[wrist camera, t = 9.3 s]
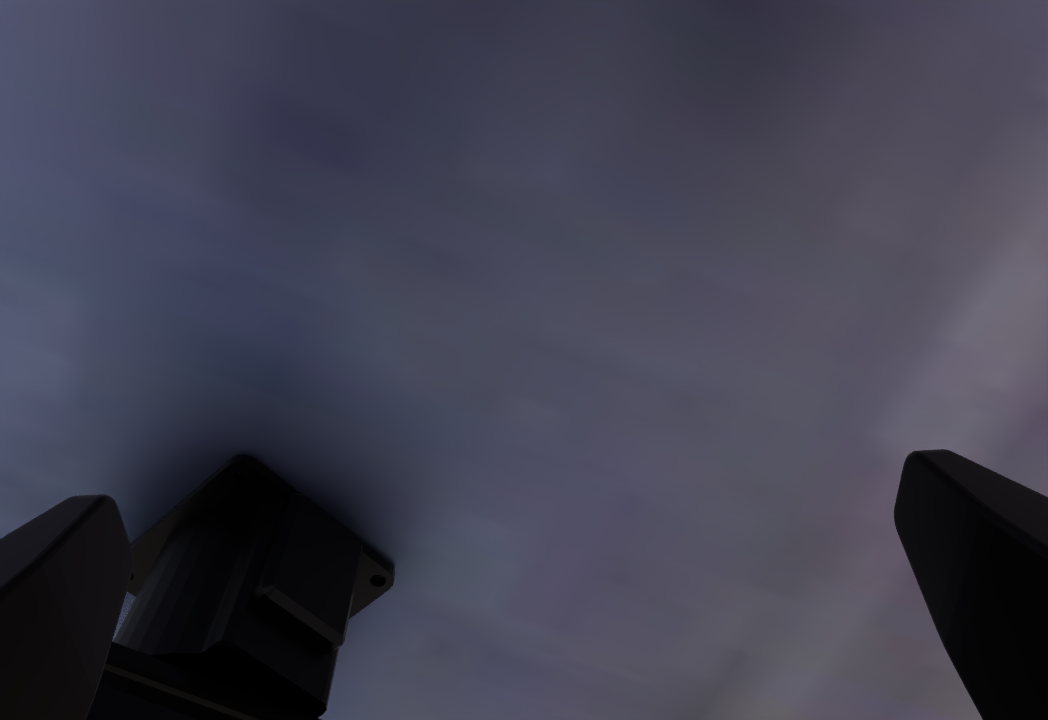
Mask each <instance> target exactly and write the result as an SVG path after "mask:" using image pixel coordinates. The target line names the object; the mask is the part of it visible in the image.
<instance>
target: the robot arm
mask: <svg viewBox="0 0 1048 720" xmlns="http://www.w3.org/2000/svg"><path fill="white" fill-rule="evenodd" d="M238 469H243V470H245V471H247V472H248V473H249V474H250V475H242V474H239V473H238V471H237V470H238ZM894 521H895V526H896V529H897V532H898V535H899V537H900V540H901V542H902V545H903V547H904V550H905V552H906V555H907V557H908V560H909V562H910V565H911V567H912V570H913V572H914V575H915V577H916V580H917V582H918V585H919V587H920V590H921V592H922V595H923V597H924V600H925V602H926V605H927V607H928V609H929V612H930V614H931V617H932V619H933V622H934V624H935V627H936V629H937V631H938V634H939V636H940V638H941V641H942V643H943V645H944V647H945V649H946V651H947V653H948V655H949V657H950V659H951V661H952V663H953V665H954V667H955V669H956V671H957V672H958V674H959V676H960V678H961V680H962V682H963V684H964V685H965V687H966V689H967V691H968V693H969V695H970V697H971V699H972V700H973V702H974V704H975V706H976V708H977V710H978V712H979V713H980V715H981V717H982V719H983V720H1048V497H1046V496H1044V495H1042V494H1040V493H1038V492H1036V491H1034V490H1032V489H1030V488H1027V487H1025V486H1023V485H1021V484H1019V483H1017V482H1015V481H1013V480H1011V479H1009V478H1006V477H1004V476H1002V475H1000V474H998V473H996V472H994V471H992V470H990V469H988V468H985V467H983V466H981V465H979V464H977V463H975V462H973V461H971V460H969V459H967V458H965V457H962V456H960V455H958V454H956V453H954V452H952V451H949V450H944V449H940V450H922V451H913V452H912V453H910V454H909V455H908V456H907V458H906V460H905V462H904V466H903V471H902V475H901V480H900V484H899V489H898V493H897V498H896V503H895V508H894ZM374 575H382V576H384V577H383V578H377V577H374ZM394 576H395V570H394V567H393V566H392V565H391V564H390V563H389V562H388V561H386V560H385V559H384V558H382V557H381V556H380V555H379V554H377V553H376V552H375V551H373V550H372V549H371V548H370V547H368V546H367V545H366V544H364V543H363V542H362V540H361V539H360V538H359V537H358V536H356V535H355V534H354V533H352V532H351V531H350V530H349V529H347V528H346V527H345V526H343V525H342V524H341V523H340V522H338V521H337V520H336V519H334V518H333V517H332V516H331V515H329V514H328V513H327V512H325V511H324V510H323V509H322V508H320V507H319V506H318V505H317V504H315V503H314V502H313V501H311V500H310V499H309V498H308V497H306V496H305V495H302V494H300V493H299V492H298V491H296V490H295V489H294V488H293V487H291V486H290V485H289V484H287V483H286V482H285V481H284V480H282V479H281V478H280V477H279V476H277V475H276V474H275V473H273V472H272V471H271V470H270V469H268V468H267V467H266V466H264V465H263V464H262V463H261V462H259V461H258V460H257V459H255V458H253V457H251V456H249V455H244V454H243V455H236V456H235V457H233V458H231V459H230V460H229V461H228V462H227V463H225V464H224V465H223V466H222V467H221V468H220V469H218V470H217V471H216V472H215V473H214V474H213V475H211V476H210V477H209V478H208V479H207V480H206V481H205V482H203V483H202V484H201V485H200V486H199V487H198V488H196V489H195V490H194V491H193V492H192V493H191V494H189V495H188V496H187V497H186V498H185V499H184V500H182V501H181V502H180V503H179V504H178V505H177V506H176V507H174V508H173V509H172V510H171V511H170V512H169V513H167V514H166V515H165V516H164V517H163V518H162V519H160V520H159V521H158V522H157V523H156V524H155V525H153V526H152V527H151V528H150V529H149V530H148V531H147V532H145V533H144V534H143V535H142V536H141V537H140V538H138V539H137V540H136V541H135V542H134V543H133V544H131V545H130V542H129V539H128V536H127V533H126V530H125V527H124V524H123V521H122V518H121V515H120V512H119V509H118V506H117V504H116V502H115V501H114V499H113V498H112V497H110V496H108V495H104V494H103V495H84V496H73V497H70V498H68V499H66V500H64V501H63V502H61V503H59V504H58V505H56V506H54V507H53V508H51V509H49V510H48V511H46V512H44V513H43V514H41V515H39V516H38V517H36V518H34V519H33V520H31V521H29V522H28V523H26V524H24V525H23V526H21V527H19V528H18V529H16V530H14V531H13V532H11V533H9V534H8V535H6V536H4V537H3V538H1V539H0V720H321V719H319V718H318V717H320V716H321V715H322V714H324V712H325V711H326V709H327V705H328V700H329V695H330V690H331V685H332V680H333V675H334V670H335V665H336V661H337V656H338V651H339V647H340V646H341V645H342V644H343V643H344V640H345V635H346V630H347V625H348V620H349V619H350V618H351V617H352V616H354V615H355V614H356V613H358V612H359V611H360V610H362V609H363V608H365V607H366V606H367V605H369V604H370V603H371V602H373V601H374V600H375V599H377V598H378V597H380V596H381V595H382V594H384V593H385V592H386V591H388V590H389V589H390V588H391V587H392V586H393V582H394ZM127 591H128V592H129V593H131V594H132V595H134V596H135V597H136V599H135V601H134V603H133V604H132V606H131V608H130V610H129V612H128V614H127V616H126V618H125V620H124V622H123V624H122V626H121V627H120V629H119V631H118V633H117V635H116V637H115V639H114V641H112V639H113V636H114V632H115V629H116V626H117V622H118V619H119V615H120V612H121V609H122V605H123V602H124V599H125V595H126V592H127Z"/></svg>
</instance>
